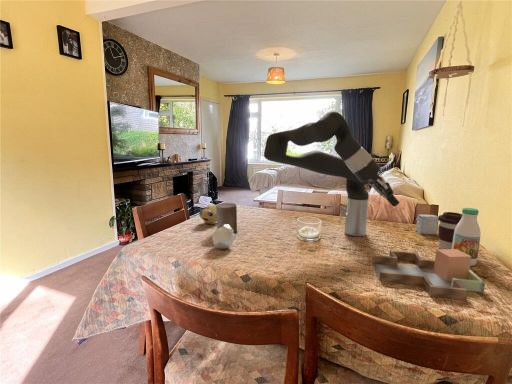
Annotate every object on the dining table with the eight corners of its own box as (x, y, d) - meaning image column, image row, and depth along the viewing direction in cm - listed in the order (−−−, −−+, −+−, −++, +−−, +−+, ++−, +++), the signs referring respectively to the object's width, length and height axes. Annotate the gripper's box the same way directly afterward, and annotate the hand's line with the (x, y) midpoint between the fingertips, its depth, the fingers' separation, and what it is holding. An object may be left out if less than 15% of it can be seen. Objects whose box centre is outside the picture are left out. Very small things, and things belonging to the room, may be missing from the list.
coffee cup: (459, 246, 118) (463, 212, 115) (467, 255, 108) (473, 218, 106) (431, 243, 121) (436, 210, 118) (438, 252, 112) (442, 215, 109)
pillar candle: (240, 231, 138) (240, 201, 135) (230, 237, 129) (230, 205, 126) (223, 228, 142) (222, 199, 139) (213, 234, 133) (211, 203, 130)
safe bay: (452, 290, 83) (453, 279, 82) (434, 269, 96) (435, 260, 96) (483, 293, 81) (485, 282, 81) (460, 272, 95) (461, 262, 94)
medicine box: (432, 231, 137) (434, 214, 136) (437, 234, 133) (439, 217, 131) (415, 231, 138) (417, 214, 136) (419, 234, 133) (421, 216, 132)
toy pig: (196, 225, 146) (195, 206, 144) (208, 220, 157) (207, 201, 155) (212, 228, 142) (212, 207, 140) (223, 221, 153) (223, 202, 152)
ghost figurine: (235, 251, 112) (235, 227, 110) (211, 252, 111) (211, 228, 109) (235, 243, 121) (235, 221, 119) (213, 244, 120) (212, 221, 118)
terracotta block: (446, 281, 88) (449, 256, 86) (433, 272, 93) (436, 249, 92) (467, 280, 88) (471, 256, 86) (453, 271, 94) (456, 249, 92)
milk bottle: (445, 258, 106) (451, 206, 103) (464, 257, 107) (471, 206, 103) (461, 266, 99) (469, 211, 95) (482, 266, 99) (490, 211, 96)
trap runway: (383, 292, 82) (384, 281, 81) (369, 257, 107) (369, 248, 106) (495, 305, 75) (497, 293, 75) (452, 264, 100) (453, 255, 100)
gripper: (347, 171, 98) (380, 208, 98) (357, 173, 85) (394, 216, 85) (365, 156, 97) (397, 194, 97) (377, 156, 84) (415, 200, 84)
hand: (396, 204), depth 91 cm, fingers closed
